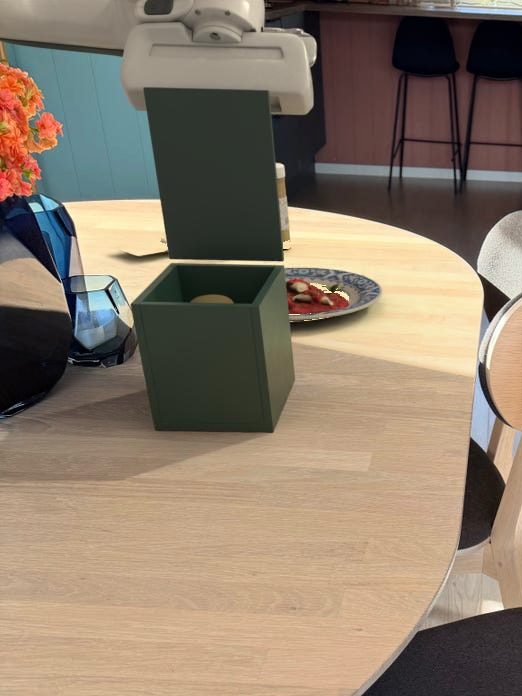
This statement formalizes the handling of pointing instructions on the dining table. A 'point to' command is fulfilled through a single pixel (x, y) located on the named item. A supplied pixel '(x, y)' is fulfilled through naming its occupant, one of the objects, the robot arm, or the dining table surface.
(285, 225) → the sprinkles bottle
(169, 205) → the lid
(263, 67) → the robot arm
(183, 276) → the box
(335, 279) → the ceramic plate
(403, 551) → the dining table surface
